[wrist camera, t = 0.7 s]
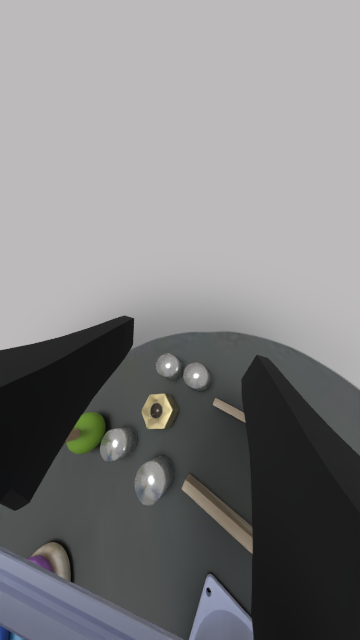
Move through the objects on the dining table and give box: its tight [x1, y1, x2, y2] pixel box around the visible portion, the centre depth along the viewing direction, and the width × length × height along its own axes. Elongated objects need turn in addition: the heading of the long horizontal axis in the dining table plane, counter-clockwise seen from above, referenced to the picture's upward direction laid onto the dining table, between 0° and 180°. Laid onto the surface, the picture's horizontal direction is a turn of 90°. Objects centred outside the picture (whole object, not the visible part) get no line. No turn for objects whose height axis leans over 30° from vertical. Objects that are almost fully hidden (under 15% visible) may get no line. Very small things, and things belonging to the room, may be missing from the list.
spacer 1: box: [100, 427, 138, 462], centre depth 23 cm, size 4×4×4 cm
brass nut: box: [141, 394, 179, 429], centre depth 24 cm, size 5×4×3 cm
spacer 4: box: [183, 362, 211, 391], centre depth 24 cm, size 4×4×4 cm
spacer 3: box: [156, 354, 184, 380], centre depth 26 cm, size 4×4×4 cm
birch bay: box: [182, 398, 253, 554], centre depth 19 cm, size 11×10×2 cm
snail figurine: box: [64, 412, 106, 454], centre depth 22 cm, size 5×6×12 cm
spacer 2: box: [135, 455, 174, 505], centre depth 20 cm, size 4×4×4 cm
